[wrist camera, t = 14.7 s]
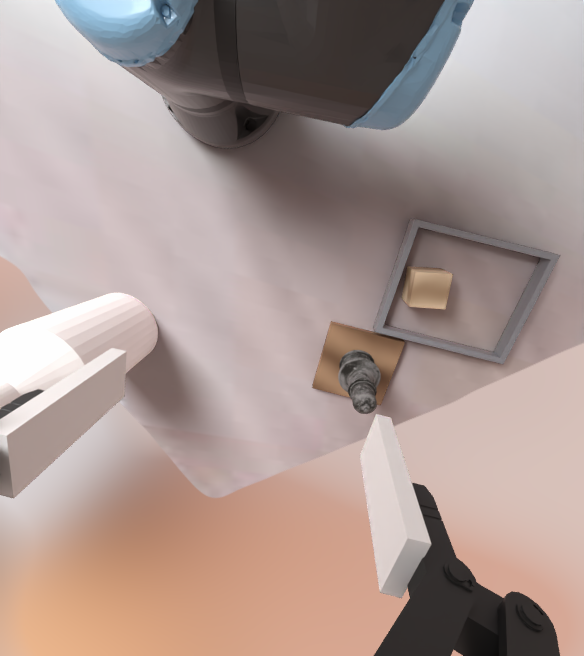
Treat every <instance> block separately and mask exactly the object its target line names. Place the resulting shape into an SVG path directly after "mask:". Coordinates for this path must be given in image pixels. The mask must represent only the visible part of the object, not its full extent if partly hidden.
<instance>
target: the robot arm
mask: <svg viewBox="0 0 584 656" xmlns="http://www.w3.org/2000/svg"><path fill="white" fill-rule="evenodd" d="M55 1H56V4H57V5H58V6H59V8H60V9H61V11H62V12H63V14H64V16H65V17H66V18H67V19H68V21H69V22H70V23H71V24H72V25H73V26H74V27H75V29H76V30H77V31H78V32H80V33H81V34H82V35H83V36H84V37H85V38H86V39H87V40H88V41H89V42H90V43H91V44H92V45H93V46H94V47H95V49H97V50H98V51H99V52H100V53H101V54H102V55H103V56H105V57H106V58H107V59H108V60H110V61H113V62H115V63H117V64H119V65H120V66H122V67H123V68H124V69H126V70H127V71H129V72H130V73H131V74H133V75H134V76H136V77H137V78H139V79H140V80H141V81H143V82H144V83H146V84H147V85H148V86H150V87H151V88H153V89H154V90H156V91H157V92H158V93H160V94H161V95H162V98H163V100H164V102H165V104H166V106H167V108H168V110H169V111H170V113H171V115H172V116H173V117H174V119H175V120H176V121H177V122H178V123H179V125H180V126H181V127H182V128H183V129H185V130H186V131H187V132H188V133H189V134H191V135H192V136H194V137H195V138H197V139H199V140H200V141H202V142H204V143H206V144H208V145H211V146H214V147H219V148H237V147H241V146H244V145H247V144H249V143H251V142H253V141H255V140H256V139H258V138H259V137H261V136H262V135H263V134H264V133H265V132H266V131H267V130H268V129H269V128H270V126H271V125H272V124H273V122H274V121H275V119H276V118H277V116H278V114H279V112H280V111H281V112H286V113H290V114H295V115H300V116H304V117H309V118H314V119H318V120H323V121H328V122H332V123H337V124H342V125H343V126H344V127H346V128H350V127H351V128H355V127H365V128H372V129H379V130H387V129H392V128H394V127H397V126H399V125H401V124H402V123H404V122H405V121H406V120H407V119H408V118H409V117H410V116H411V115H412V114H413V113H414V112H415V111H416V110H417V108H418V107H419V106H420V104H421V103H422V102H423V100H424V99H425V97H426V96H427V94H428V93H429V91H430V90H431V88H432V86H433V85H434V83H435V81H436V80H437V78H438V76H439V74H440V72H441V71H442V69H443V67H444V65H445V63H446V61H447V60H448V58H449V56H450V54H451V52H452V50H453V48H454V46H455V43H456V41H457V39H458V37H459V34H460V32H461V25H462V20H463V19H464V18H465V16H466V14H467V12H468V11H469V9H470V7H471V5H472V4H473V1H474V0H55ZM126 354H127V351H123V350H119V349H115V348H111V349H109V350H108V351H106V352H105V353H103V354H102V355H100V356H99V357H97V358H95V359H94V360H92V361H91V362H89V363H88V364H86V365H84V366H83V367H81V368H80V369H78V370H77V371H75V372H73V373H72V374H70V375H69V376H67V377H66V378H64V379H62V380H61V381H59V382H58V383H56V384H55V385H53V386H52V387H50V388H48V389H47V390H41V389H37V390H34V391H31V392H28V393H26V394H23V395H21V396H20V397H18V398H16V399H15V400H13V401H11V403H8V404H6V405H5V406H3V407H1V409H0V495H3V496H6V497H10V498H15V497H16V496H17V495H18V494H19V493H20V492H21V491H22V490H23V489H24V488H25V487H27V486H28V485H29V484H30V483H31V482H32V481H33V480H34V479H35V478H36V477H37V476H39V475H40V474H41V473H42V472H43V471H44V470H45V469H46V468H47V467H48V466H49V465H50V464H52V463H53V462H54V461H55V460H56V459H57V458H58V457H59V456H60V455H61V454H62V453H64V452H65V450H67V449H68V448H69V447H70V446H71V445H72V444H73V443H74V442H75V441H77V439H79V438H80V437H81V436H82V435H83V434H84V433H85V432H86V431H87V430H88V429H90V428H91V427H92V426H93V425H94V424H95V423H96V422H97V421H98V420H99V419H100V418H101V417H103V416H104V415H105V414H106V413H107V412H108V411H109V410H110V409H111V408H112V407H113V406H114V405H116V404H117V403H118V402H119V401H120V400H121V399H122V398H123V397H124V396H125V376H126ZM360 459H361V466H362V473H363V480H364V487H365V494H366V500H367V507H368V514H369V521H370V528H371V534H372V542H373V548H374V556H375V562H376V569H377V576H378V583H379V590H380V593H383V594H387V595H391V596H395V597H399V598H402V596H403V595H404V593H405V591H406V589H407V587H408V591H409V596H410V599H409V601H408V602H407V604H406V606H405V607H404V609H403V610H402V612H401V613H400V615H399V617H398V618H397V620H396V621H395V623H394V625H393V626H392V628H391V629H390V631H389V633H388V634H387V636H386V637H385V639H384V640H383V642H382V644H381V645H380V647H379V648H378V650H377V651H376V653H375V655H374V656H451V654H452V651H453V649H454V650H456V651H457V652H458V653H460V654H462V655H463V656H560V653H559V647H558V641H557V636H556V632H555V629H554V626H553V624H552V622H551V620H550V619H549V617H548V616H547V614H546V613H545V612H544V611H543V610H542V609H541V608H540V607H539V605H538V604H537V603H535V602H534V601H533V600H531V599H530V598H529V597H527V596H525V595H523V594H521V593H519V592H510V593H508V594H507V595H506V596H505V598H502V597H500V596H499V595H497V594H495V593H493V592H492V591H490V590H488V589H486V588H484V587H483V586H481V585H480V584H478V583H477V582H476V579H475V577H474V576H473V574H472V572H471V571H470V569H468V567H467V566H466V565H465V564H464V563H463V562H461V561H460V560H459V559H457V558H456V555H455V553H454V550H453V548H452V545H451V542H450V539H449V537H448V534H447V532H446V529H445V526H444V524H443V521H441V516H440V513H439V511H438V508H437V505H436V503H435V500H434V498H433V496H432V495H431V493H430V492H429V491H428V490H427V488H426V487H425V486H423V485H419V484H415V483H412V482H411V479H410V476H409V473H408V470H407V466H406V463H405V460H404V457H403V454H402V451H401V448H400V445H399V442H398V438H397V436H396V432H395V429H394V426H393V423H392V420H391V417H387V416H383V415H379V414H376V415H375V418H374V421H373V423H372V426H371V428H370V431H369V434H368V436H367V439H366V441H365V444H364V447H363V449H362V452H361V455H360Z"/></svg>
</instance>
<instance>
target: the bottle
mask: <svg viewBox="0 0 584 656" xmlns="http://www.w3.org/2000/svg"><path fill="white" fill-rule="evenodd" d="M157 339H158V327H157V324H156V320H155V318H154V316H153V314H152V313H151V311H150V310H149V309H148V308H147V307H146V306H145V305H144V304H143V303H142V302H141V301H139V300H138V299H137V298H134V297H132V296H130V295H127V294H123V293H110V294H107V295H104V296H101V297H98V298H95V299H92V300H90V301H87V302H84V303H81V304H78V305H75V306H72V307H69V308H66V309H64V310H61V311H58V312H55V313H52V314H49V315H46V316H44V317H41V318H38V319H35V320H32V321H29V322H26V323H23V324H20V325H18V326H14V327H12V328H9V329H7V330H4V331H3V332H2V333H0V409H1V407H3V406H5V405H6V404H8V403H11V401H13V400H15V399H16V398H18V397H20V396H21V395H23V394H26V393H28V392H31V391H34V390H37V389H41V390H47V389H48V388H50V387H52V386H53V385H55V384H56V383H58V382H59V381H61V380H62V379H64V378H66V377H67V376H69V375H70V374H72V373H73V372H75V371H77V370H78V369H80V368H81V367H83V366H84V365H86V364H88V363H89V362H91V361H92V360H94V359H95V358H97V357H99V356H100V355H102V354H103V353H105V352H106V351H108V350H109V349H111V348H115V349H119V350H123V351H127V354H126V373H127V372H128V371H129V370H130V369H131V368H133V367H134V366H135V365H136V364H137V363H139V362H140V361H141V360H142V359H143V358H144V357H146V356H147V355H148V354H149V353H150V352H151V351H152V350H153V349H154V347H155V345H156V343H157Z"/></svg>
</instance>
